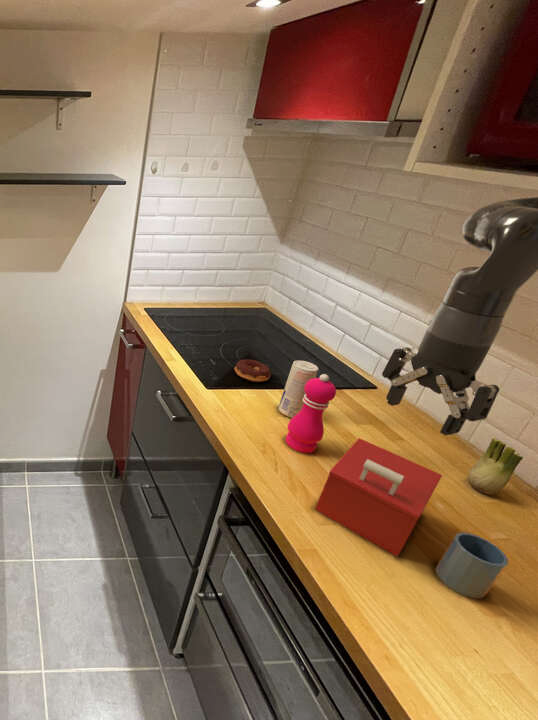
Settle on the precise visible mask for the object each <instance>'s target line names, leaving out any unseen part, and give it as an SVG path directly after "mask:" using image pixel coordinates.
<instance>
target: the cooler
mask: <svg viewBox="0 0 538 720" xmlns="http://www.w3.org/2000/svg"><path fill="white" fill-rule="evenodd" d="M314 509H315V510H316V511H317V512H319V513H321V514H323V515H324V516H326V517H328V518H330V519H331V520H333V521H335V522H337V523H338V524H340V525H341V526H344V527H345V528H346V529H349V530H351V531H352V532H354V533H355V534H357V535H359V536H361V537H363V538H364V539H366V540H368V541H369V542H371V543H373V544H375V545H376V546H378V547H379V548H381V549H383V550H385V551H387V552H389V553H390V554H392V555H394V556H396V557H399V555H400V553H401V551H402V550H403V548H404V546H405V544H406V543H407V541H408V539H409V537H410V535H411V533H412V532H413V529H414V528H415V526H416V524H417V523H418V521H419V519H418V520H417V519H415V518H413V517H411V516H409V515H408V514H406V513H404V512H402V511H400V510H398V509H396V508H394V507H392V506H390V505H388V504H386V503H384V502H382V501H380V500H379V499H377V498H375V497H373V496H371V495H369V494H367V493H365V492H363V491H361V490H359V489H357V488H355V487H353V486H351V485H349V484H348V483H346V482H344V481H342V480H340V479H338V478H336V477H334V476H332V475H330V474H329V473H328V476H327V479H326V481H325V484H324V486H323V488H322V491H321V493H320V496H319V498H318V500H317V503H316V505H315V507H314Z"/></svg>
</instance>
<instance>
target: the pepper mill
mask: <svg viewBox="0 0 538 720" xmlns="http://www.w3.org/2000/svg"><path fill="white" fill-rule="evenodd" d="M304 391H305V393H306V394H305V395H304V398H303V402H304V404H303V407H302V409H301V410H300V412H299V413H298V414H296V415H295V416H294V417H293V418H292V417H291V419H289V421H288V424H287V430H288V432H287V433H286V437H285V443H286V444H287V445H288V446H289V447H290V448H291V449H293V450H295V451H298V452H300V453H303V454H304V453H305V454H311V453H313V452H315V450H316V449H317V446H318V442H320V441H322V440H323V437H324V433H325V428H324V427H325V426H324V423H323V415H324V412H325V410H326V409H328V408H329V405H330V402H331V401H332V400H334V399H335V397H336V395H337V388H336V387H335V385H334V384H333V382H331V381H330V377H329V375H328V374H326V373H323V374H320V376H319V377H315V378H313V379H310V380H309V381H308V382H307V383H306V384H305V387H304Z"/></svg>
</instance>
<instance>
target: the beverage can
mask: <svg viewBox="0 0 538 720" xmlns="http://www.w3.org/2000/svg"><path fill="white" fill-rule="evenodd" d="M318 371H319V367H318V366H317V365H316V364H314V363H312V362H309V361H306V360H294V361H293V362H292V365H291V368H290V370H289V374H288V377H287V380H286V382H285V385H284V389H283V392H282V395H281V398H280V401H279V404H278V408H277V409H278V411H279V412H280V413H281V414H282V415H283V416H286V417H289V418H291V419H292V418H293V417H294V416H295V415H296V414H298V413H299V412H300V410H301V409H302V407H303V404H304V402H303V398H304V395H305V394H306V393H305V391H304V387H305V384H306V383H307V382H308V381H309V380H310V379H313V378H317V374H318Z"/></svg>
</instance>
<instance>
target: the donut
mask: <svg viewBox="0 0 538 720" xmlns="http://www.w3.org/2000/svg"><path fill="white" fill-rule="evenodd" d="M234 371H235V373H236V375H237V376H239V377H240V378H241V379H243V380H247V381H248V382H253V383H254V382H255V383H261V382H266V381H268V380H269V379H270V377H271V374H272V371H271V368H270V367H269V366H268V365H266V364H264V363H262V362H260V361H259V360H256V359H255V360H254V359H240V360H238V361H237V362H236V364H235V366H234Z"/></svg>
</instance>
